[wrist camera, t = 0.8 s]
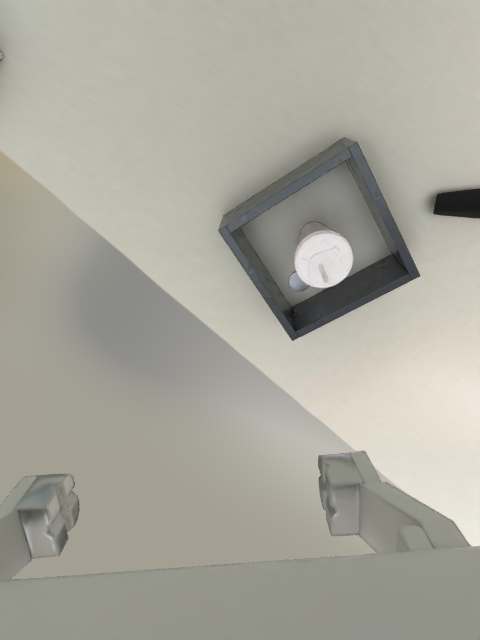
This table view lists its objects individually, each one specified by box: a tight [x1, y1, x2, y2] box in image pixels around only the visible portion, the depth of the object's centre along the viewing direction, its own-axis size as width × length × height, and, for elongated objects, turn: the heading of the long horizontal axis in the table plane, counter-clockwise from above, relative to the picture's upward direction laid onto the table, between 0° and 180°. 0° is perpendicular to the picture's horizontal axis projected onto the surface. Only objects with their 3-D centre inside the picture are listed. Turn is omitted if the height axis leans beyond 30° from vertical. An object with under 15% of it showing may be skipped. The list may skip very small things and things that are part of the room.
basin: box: [218, 137, 420, 341], centre depth 49 cm, size 17×17×7 cm
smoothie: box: [294, 222, 353, 288], centre depth 46 cm, size 6×6×14 cm
